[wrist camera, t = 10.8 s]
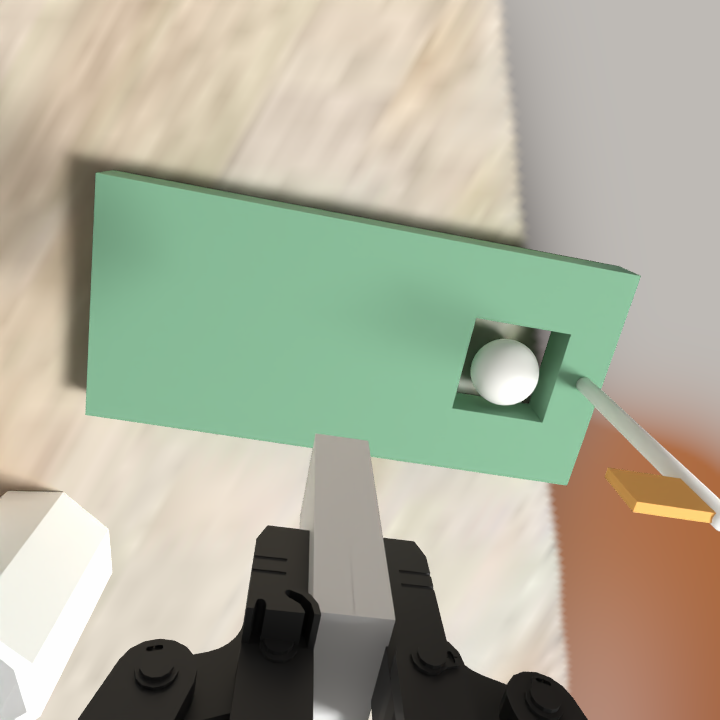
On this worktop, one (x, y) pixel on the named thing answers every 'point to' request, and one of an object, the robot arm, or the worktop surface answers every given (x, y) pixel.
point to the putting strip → (352, 336)
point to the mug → (44, 592)
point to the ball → (504, 372)
